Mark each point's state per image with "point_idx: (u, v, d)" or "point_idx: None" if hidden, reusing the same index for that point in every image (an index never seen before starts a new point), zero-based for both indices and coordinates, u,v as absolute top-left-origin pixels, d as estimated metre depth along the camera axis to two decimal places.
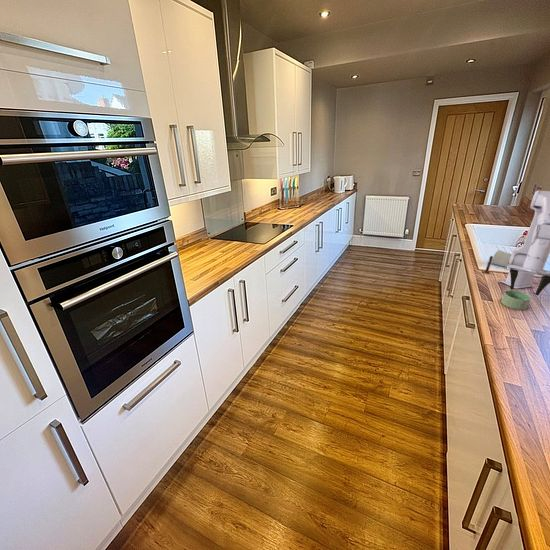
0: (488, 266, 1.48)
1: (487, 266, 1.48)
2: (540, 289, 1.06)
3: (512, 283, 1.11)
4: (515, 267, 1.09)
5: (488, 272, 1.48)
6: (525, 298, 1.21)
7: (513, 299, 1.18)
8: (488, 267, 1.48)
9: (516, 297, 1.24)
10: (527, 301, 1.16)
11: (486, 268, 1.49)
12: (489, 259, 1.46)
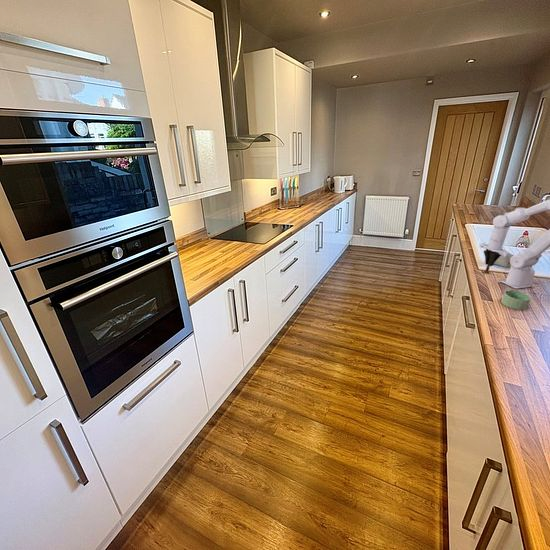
0: (488, 266, 1.48)
1: (487, 266, 1.48)
2: None
3: None
4: None
5: (488, 272, 1.48)
6: (525, 298, 1.21)
7: (513, 299, 1.18)
8: (488, 267, 1.48)
9: (516, 297, 1.24)
10: (527, 301, 1.16)
11: (486, 268, 1.49)
12: (489, 259, 1.46)
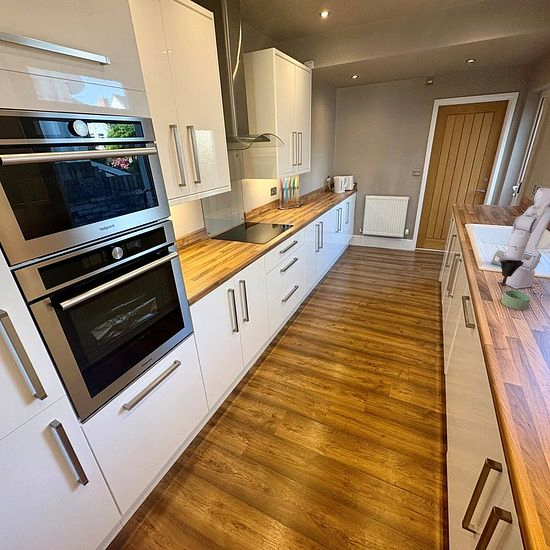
0: (507, 277, 1.23)
1: (506, 278, 1.23)
2: None
3: None
4: None
5: (505, 283, 1.25)
6: (525, 298, 1.21)
7: (513, 299, 1.18)
8: None
9: (516, 297, 1.24)
10: (527, 301, 1.16)
11: (505, 280, 1.23)
12: None
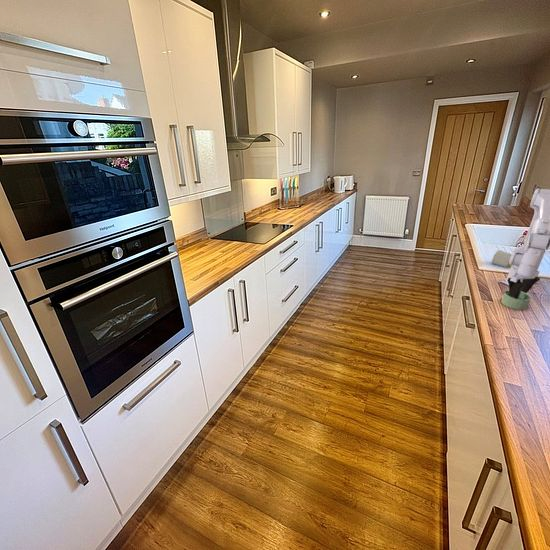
0: None
1: (518, 296, 1.20)
2: None
3: None
4: None
5: None
6: (525, 298, 1.21)
7: (513, 299, 1.18)
8: (518, 296, 1.20)
9: None
10: (527, 301, 1.16)
11: (517, 298, 1.20)
12: (521, 288, 1.18)
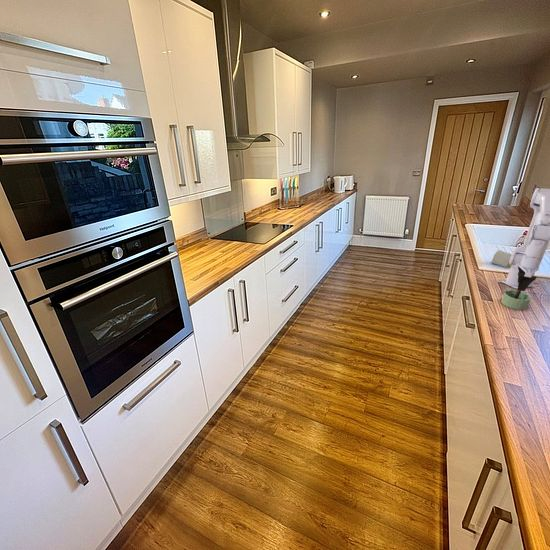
0: None
1: (518, 296, 1.20)
2: (518, 283, 1.15)
3: (518, 276, 1.21)
4: None
5: None
6: (525, 298, 1.21)
7: (513, 299, 1.18)
8: (518, 296, 1.20)
9: None
10: (527, 301, 1.16)
11: (517, 298, 1.20)
12: None
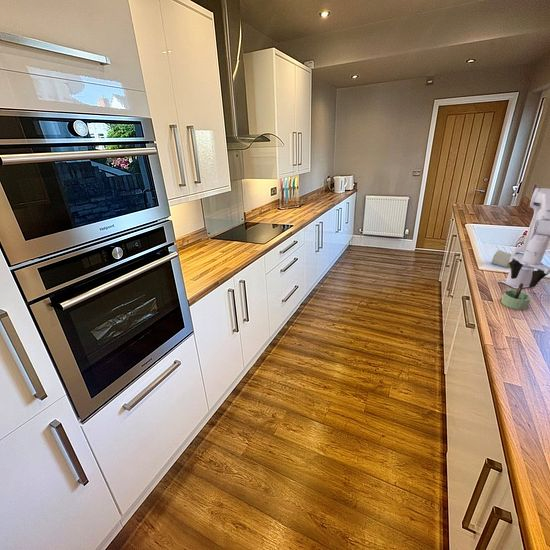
0: None
1: (518, 296, 1.20)
2: (531, 281, 1.12)
3: (511, 272, 1.20)
4: (515, 258, 1.18)
5: None
6: (525, 298, 1.21)
7: (513, 299, 1.18)
8: (518, 296, 1.20)
9: None
10: (527, 301, 1.16)
11: (517, 298, 1.20)
12: (521, 288, 1.18)
